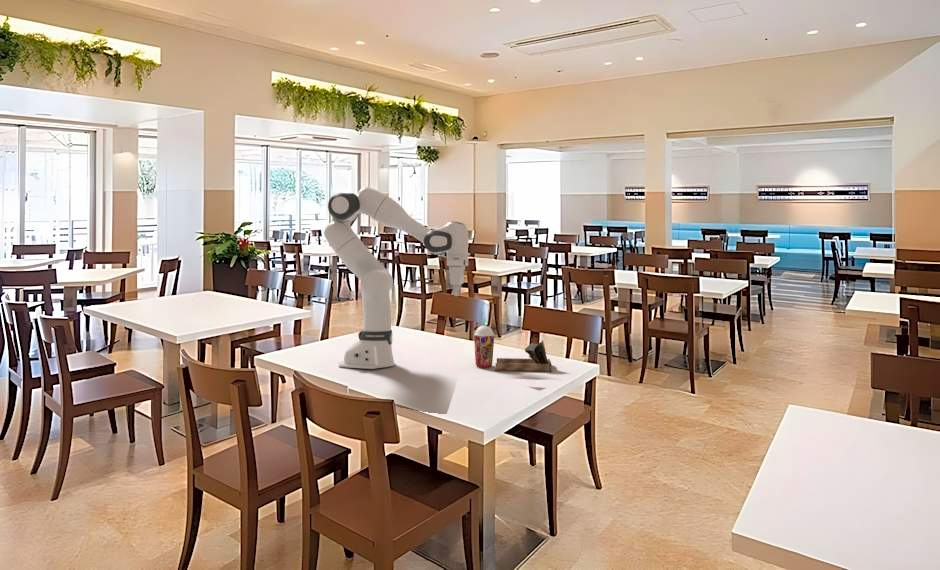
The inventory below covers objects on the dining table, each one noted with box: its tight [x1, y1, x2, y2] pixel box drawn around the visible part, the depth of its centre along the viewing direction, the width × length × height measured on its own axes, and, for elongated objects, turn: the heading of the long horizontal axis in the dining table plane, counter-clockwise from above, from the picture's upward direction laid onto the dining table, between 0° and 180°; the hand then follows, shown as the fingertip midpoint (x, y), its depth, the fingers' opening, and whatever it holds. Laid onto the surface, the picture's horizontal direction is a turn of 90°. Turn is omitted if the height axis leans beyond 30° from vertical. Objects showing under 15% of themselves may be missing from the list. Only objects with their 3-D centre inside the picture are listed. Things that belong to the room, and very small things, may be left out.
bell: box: [524, 340, 548, 364], centre depth 250 cm, size 10×7×12 cm
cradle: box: [495, 357, 553, 373], centre depth 251 cm, size 22×14×3 cm, turn 86°
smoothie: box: [473, 318, 495, 369], centre depth 252 cm, size 8×8×20 cm
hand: (457, 295), depth 252 cm, fingers open, 7 cm apart
